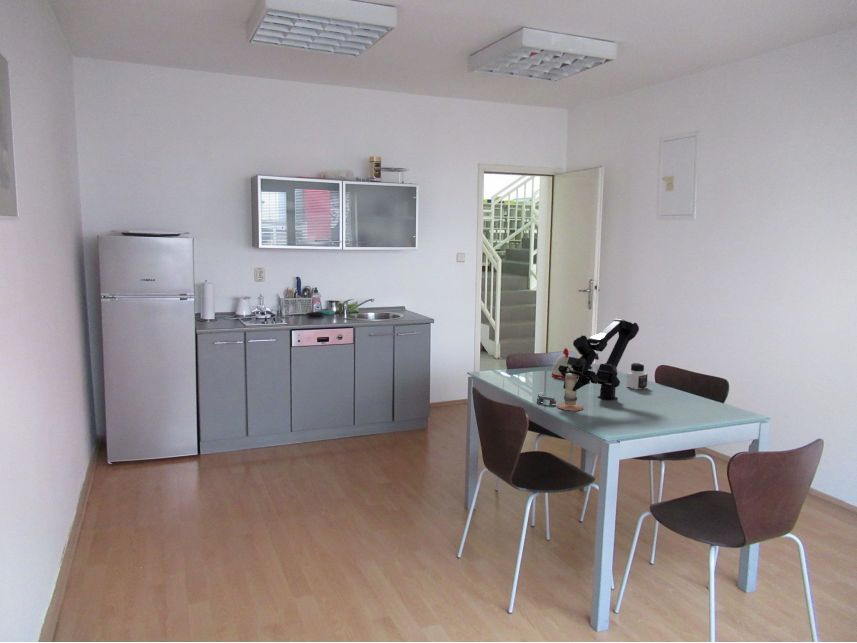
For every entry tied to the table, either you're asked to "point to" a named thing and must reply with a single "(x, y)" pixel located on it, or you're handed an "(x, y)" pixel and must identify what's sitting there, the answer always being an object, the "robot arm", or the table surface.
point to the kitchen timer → (561, 361)
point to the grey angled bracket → (545, 398)
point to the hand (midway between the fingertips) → (568, 389)
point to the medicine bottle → (637, 377)
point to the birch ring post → (570, 389)
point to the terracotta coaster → (570, 407)
